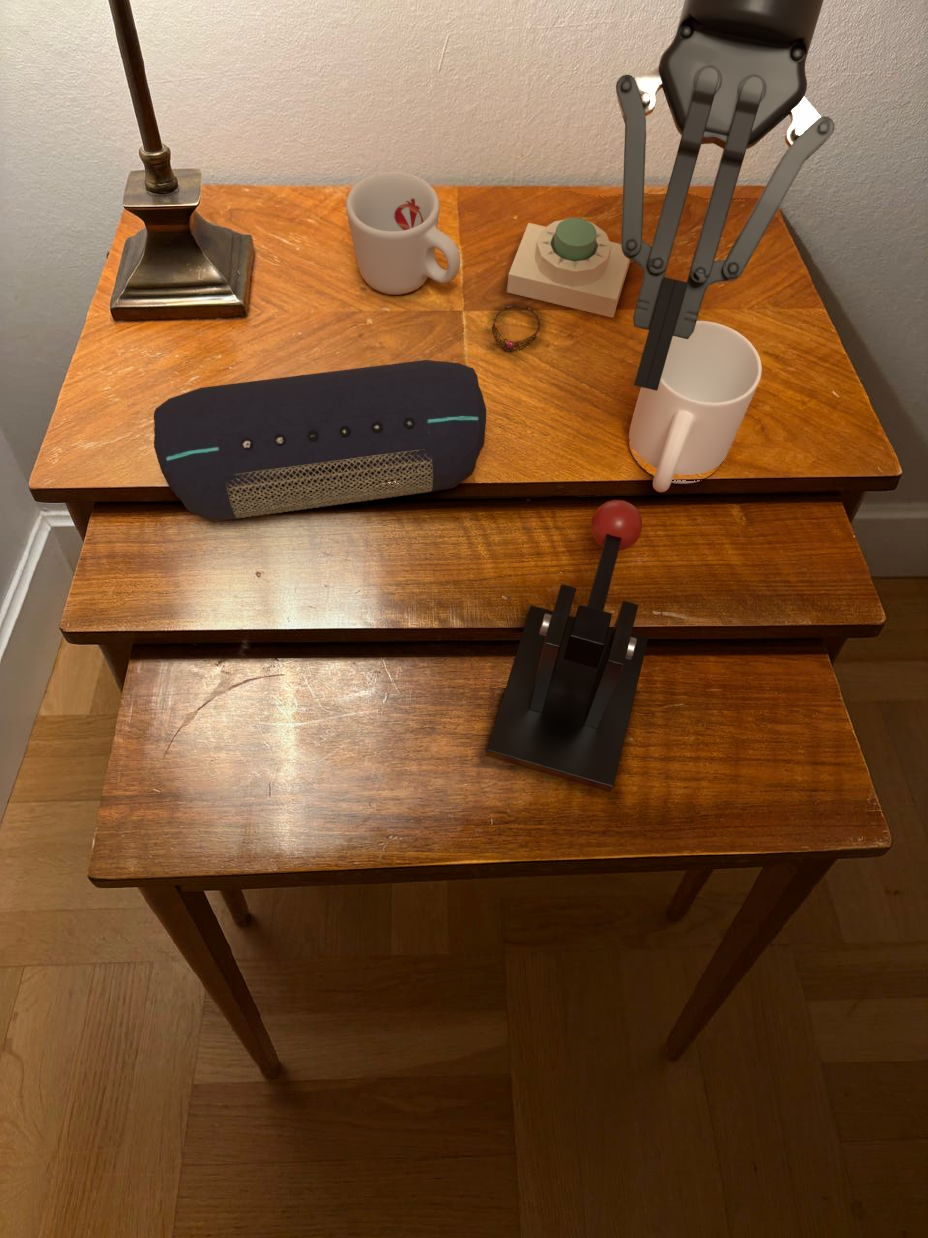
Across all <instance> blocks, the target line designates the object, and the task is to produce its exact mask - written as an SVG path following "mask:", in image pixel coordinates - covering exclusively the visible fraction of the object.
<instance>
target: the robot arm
mask: <svg viewBox="0 0 928 1238" xmlns="http://www.w3.org/2000/svg"><path fill="white" fill-rule="evenodd" d="M824 1H825V0H684V1H683V5H682V9H681V12H680V15H679V16H680V17H679V21H678V24H677V28H676V32H675V35H674V37H673V39H672V41H671V43H670V44H669V46H667V48H666V49H665V50H664V51H663V53H662V54H661V57H660V59H659V62H658V66H655V67H653V68H651V69H649V70H647V71H644V72H642V73H640V74H638V75H635V76H633V75H631V74H624V75H622V76H620V77H619V78H618V79H617V81H616V83H615V92H616V101H617V104H618V107H619V110H620V113H621V117H622V120H623V123H624V146H623V147H624V148H623V149H624V150H623V151H624V152H623V177H622V178H623V180H622V181H623V183H622V209H621V211H622V212H621V243H620V244H621V247H622V251H623V254H624V256H625V257H627V258H628V259H630V262H633V263H634V264H635V265H637V266H639V268H641V270H642V272H643V279H642V282H641V286H640V289H639V293H638V296H637V301H636V304H635V308H634V311H633V315H632V323H633V327H635V328H638V329H642V330H647V331H648V332H647V336H646V339H645V343H644V347H643V350H642V353H641V358H640V361H639V365H638V369H637V371H636V376H635V378H634V379H635V380H634V384H633V386H636V387H639V388H641V387H643V388H648V389H652V390H656V391H657V390H658V387H659V383H660V379H661V376H662V372H663V369H664V365H665V362H666V358H667V355H668V351H669V348H670V344H671V340H672V337H673V336H675V337H679V338H684V339H688V338H689V337H690V336H691V334H692V333H693V332H694V328H695V325H696V321H698V318H699V314H700V311H701V308H702V304H703V300H704V297H705V293H706V291H707V289H708V288H709V287H710V286H711V285H715V284H719V283H721V284H722V283H728V282H734V281H736V279H738V278H740V277H741V276H742V274H743V273H744V271H745V269H746V267H747V266H748V264H749V262H750V260H751V258H752V257H753V254H754V253H755V251H756V249H757V248H758V246H759V244H760V242H761V241H762V239H763V237H764V235H765V233H766V231H768V228H769V226H770V224H771V222H772V221H773V219H774V218H775V216H776V213H777V212H778V210H779V209H780V206H781V205H782V203H783V201H784V200H785V198H786V196H787V194H788V192H789V190H790V188H791V187H792V185H793V183H794V182H795V180H796V178H797V176H798V174H799V172H800V171H801V169H802V167H803V165H804V164H805V162H807V160H809V158H810V157H812V155H814V154H815V153H816V152H818V150H819V149H820V148H821V147H822V146H823V145H824V144H825V143H826V142H827V141H828V140H829V138H831V136H832V135H833V133H834V131H835V122H834V121H833V118H831V117H829V116H821V114H819V112H818V111H817V110H816V108H815V107H814V106H813V105H812V104H811V103H810V102H809V101H808V99H807V98H806V97H805V95H806V93H807V88H808V80H807V75H806V61H807V58H808V55H809V51H810V48H811V45H812V40H813V37H814V34H815V31H816V27H817V24H818V21H819V17H820V13H821V11H822V7H823V5H824V4H823V3H824ZM661 89H662V92H663V94H664V98H665V101H666V102H667V106H668V108H669V111H670V114H671V117H672V120H673V123H674V126H675V128H676V131H677V132H678V133H679V134H680V140H679V144H678V148H677V153H676V155H675V159H674V163H673V167H672V171H671V174H670V178H669V182H668V185H667V190H666V193H665V196H664V199H663V204H662V207H661V211H660V215H659V219H658V222H657V226H656V230H655V233H654V237H653V241H652V244H651V245H650V244H648V243H647V242H646V241H644V240H643V230H644V229H643V228H644V203H645V201H644V199H645V178H646V177H645V175H646V173H645V172H646V148H647V147H646V146H647V119H646V117H647V116H649V115H651V114H652V113H653V112H654V110H655V108H656V98H657V97H656V96H657V94H658V92H659V91H660V90H661ZM788 116H789V118H790V124H789V127H788V129H787V130H786V132H785V134H784V142H785V143H786V145H787V146H788V148H787V150H786V151H785V152H784V154H783V155H782V157H781V158H780V160H779V161H778V163H777V164H776V167H775V168H774V170H773V172H772V174H771V176H770V178H769V180H768V181H767V183H766V185H765V186H764V189H763V190H762V192H761V194H760V196H759V197H758V199H757V201H756V203H755V205H754V206H753V208H752V211H751V212H750V213H749V216H748V218H747V219H746V221H745V223H744V225H743V227H742V228H741V230H740V232H739V234H738V236H737V238H736V239H735V241H734V243H733V245H732V247H731V248H730V250H729V252H728V253H727V256H726V258H725V259H719V260H716V256H717V253H718V249H719V245H720V242H721V238H722V235H723V232H724V229H725V225H726V222H727V217H728V214H729V211H730V208H731V204H732V200H733V197H734V194H735V190H736V187H737V183H738V179H739V175H740V173H741V170H742V166H743V163H744V160H745V157H746V152H747V150H748V149H751V148H752V147H755V145H756V144H758V143H759V142H760V141H761V140H762V139H764V137H766V136H767V135H768V134H769V133H770V132H771V131H772V130H774V128H776V127H777V126H778V125H779V124H781V122H783V120H785V119H786V118H787V117H788ZM711 144H713V145H716V146H717V147H719V148H721V149H722V153H721V157H720V160H719V164H718V167H717V171H716V175H715V177H714V181H713V185H712V188H711V192H710V195H709V199H708V204H707V206H706V211H705V213H704V217H703V220H702V221H703V222H702V224H701V228H700V232H699V236H698V239H697V243H696V246H695V251H694V254H693V257H692V261H691V263H690V268H689V272H688V276H687V278H686V281H683V280H678V279H674V278H671V277H666V273H667V269H668V266H669V261H670V258H671V254H672V251H673V248H674V244H675V240H676V236H677V233H678V229H679V225H680V222H681V220H682V215H683V212H684V209H685V204H686V200H687V197H688V193H689V190H690V187H691V183H692V179H693V175H694V172H695V168H696V164H697V161H698V158H699V153H700V151H701V148H702V145H711Z"/></svg>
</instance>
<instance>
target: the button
mask: <svg viewBox="0 0 928 1238" xmlns="http://www.w3.org/2000/svg"><path fill="white" fill-rule="evenodd" d="M562 220H563V221H561V222H560V223H559V224H558V226H557V227H556V232H555V240H554V250H555V252H556V254H557V255H558V256H560V257H561V258H562V259H566V260H570V261H574V262H575V261H582V260H586V259H588V258H589V257H590V256H591V255H592V254H593V251H594V246H595V241H596V235H597V232H596V229H595V227H594V226H593V225H592V224H591V223H592V222H591V221H589V220H586V219H584V218H579V217H568V218H565V219H562ZM590 222H591V223H590Z"/></svg>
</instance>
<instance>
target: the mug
mask: <svg viewBox="0 0 928 1238" xmlns="http://www.w3.org/2000/svg"><path fill="white" fill-rule="evenodd" d="M762 372H763V367H762V361H761V358H760V355H759V353H758V351H757V349H756V347H755V346H754V345H753V344H752V342H751V341H750V340H749V339H748V338H747V337H745V336H744V335H743V334H742V333H740V332H739V331H737V330H735V329H733V328H731V327H729V326H727V325H724V324H722V323H719V322H715V321H708V320H697V321H696V325H695V328H694V332H693V333H692V334H691V336H690V337H689V338H688V339H684V338H679V337H675V336H673V337H672V340H671V344H670V348H669V351H668V355H667V358H666V362H665V365H664V369H663V372H662V376H661V379H660V383H659V387H658V390H657V391H656V390H652V389H648V388H643V387H640V389H639V394H638V397H637V400H636V404H635V407H634V411H633V414H632V419H631V422H630V426H629V431H628V439H629V438H630V441H629V440H628V446H629V450H630V453H631V455H632V457H633V459H634V460H635V462H636V461H639V460H638V459H637V457H636V456H635V454H634V453H633V451H632V448H633V449H634V450H635V451H636V453H637V454H638V455H639V456H640V457H641V458H642V459H643V460H645V462H647V463H648V464H650V465H651V466H653V467H655V468H657V470H656V473H655V476H653V479H652V487H653V489H654V490H655V491H656V492H658V493H665V492H666V491H668V490H669V488H670V486H671V485H672V484H675V485H676V484H678V485H688V484H694V483H699V482H701V481H700V480H697V481H695V480H694V481H686V480H682V481H681V480H677V481H676V480H674V481H672V480H673V477H674V474H678V475H692V474H693V475H695V474H701V473H705V472H708V471H710V470H713V469H715V468H716V467H718V466H719V465H720V464H721V463H722V462H723V461H724V462H725V460H726V458H727V456H728V454H729V453H730V450H731V447H732V445H733V444H734V441H735V438H736V436H737V433H738V431H739V430H740V427H741V425H742V423H743V420H744V418H745V416H746V413H747V411H748V409H749V407H750V404H751V402H752V400H753V398H754V395H755V393H756V390H757V389H758V387H759V384H760V381H761V379H762ZM630 443H631V445H632V448H631V445H630ZM724 462H723V463H724ZM636 463H637V464H638V463H640V461H639V462H636ZM723 463H722V464H723ZM640 464H642V463H640ZM643 466H644V465H643ZM720 467H721V466H720ZM720 467H719V469H720Z"/></svg>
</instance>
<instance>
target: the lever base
mask: <svg viewBox="0 0 928 1238" xmlns="http://www.w3.org/2000/svg"><path fill="white" fill-rule="evenodd" d="M576 592H577V588H576V587H575V586H570V585H566V584H563V583H561V585H560V587H559V591H558V594H557V597H556V600H555V604H554V607H553V610H550V609H546V608H543V607H539V606H535V605H530V607H529V609H528V612H527V616H526V620H525V623H524V626H523V629H522V633H521V636H520V639H519V642H518V645H517V646H518V647H517V649H516V652H515V656H514V658H513V662H512V666H511V669H510V672H509V675H508V679H507V682H506V685H505V688H504V692H503V695H502V698H501V703H500V705H499V708H498V712H497V715H496V718H495V721H494V724H493V728H492V731H491V734H490V738H489V740H488V745H487V748H486V752H485V756H486V757H489V758H492V759H495V760H498V761H503V762H506V763H508V764H512V765H516V766H519V767H524V768H527V769H529V770H533V771H536V772H538V773H539V772H540V773H543V774H546V775H550V776H553V777H557V778H560V779H563V780H566V781H571V782H574V783H577V784H581V785H584V786H587V787H591V788H594V789H597V790H600V791H604V792H608V793H611V792H612V790H613V789H614V786H615V782H616V778H617V774H618V769H619V765H620V762H621V761H620V760H621V756H622V752H623V748H624V743H625V740H626V734H627V731H628V726H629V724H630V723H629V722H630V718H631V713H632V709H633V706H634V701H635V697H636V693H637V689H638V685H639V680H640V676H641V671H642V666H643V663H644V659H645V654H646V651H647V645H648V641H649V637H647V636H646V635H645V636H644V635H641V634H638V633H634V632H633V629H634V625H635V621H636V617H637V613H638V609H639V604H638V603H635V602H634V603H633V602H631V601H626V600H623V601H622V603H621V605H620V608H619V611H618V614H617V616H616V619H615V622H614V625H613V627H612V626H609V629H608V634H607V638H606V642H605V646H604V649H603V652H602V655H601V658H600V661H599V664H598V667H597V668H593V667H589V666H586V665H582V664H578V663H575V662H571V661H568V660H564V655H565V652H566V648H567V644H568V641H569V637H570V634H571V630H572V626H573V623H574V619H575V616H572V615H570V614H571V610H572V607H573V603H574V600H575V595H576Z"/></svg>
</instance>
